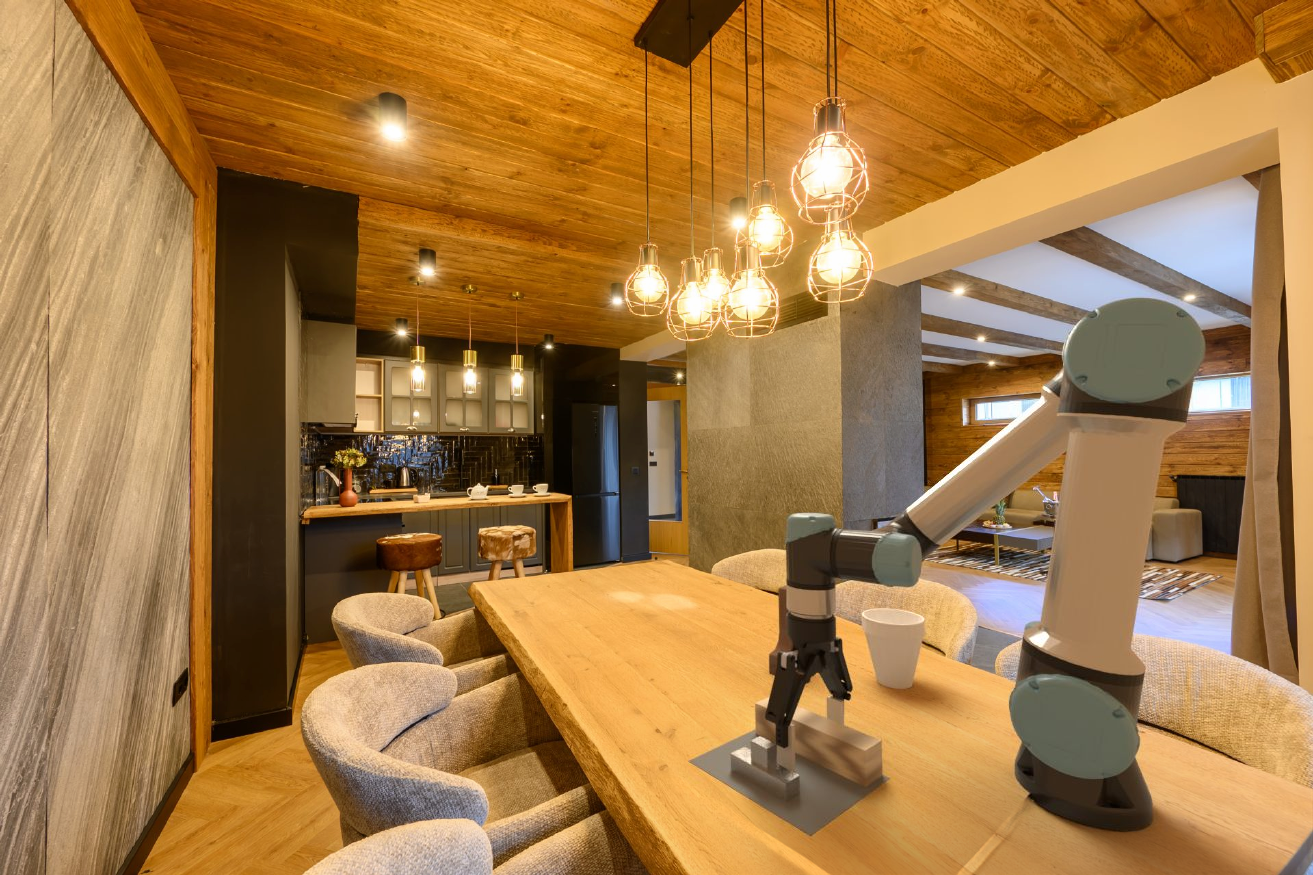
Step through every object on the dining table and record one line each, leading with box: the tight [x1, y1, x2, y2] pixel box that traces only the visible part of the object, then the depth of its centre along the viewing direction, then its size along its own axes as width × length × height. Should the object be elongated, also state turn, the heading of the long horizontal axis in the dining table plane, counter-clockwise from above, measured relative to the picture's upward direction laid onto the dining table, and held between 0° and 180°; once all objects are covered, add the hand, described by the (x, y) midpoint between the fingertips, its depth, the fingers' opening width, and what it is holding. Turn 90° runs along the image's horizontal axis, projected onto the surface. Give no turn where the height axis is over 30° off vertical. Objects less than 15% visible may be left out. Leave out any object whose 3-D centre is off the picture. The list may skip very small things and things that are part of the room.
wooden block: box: [768, 584, 800, 677], centre depth 123 cm, size 9×4×18 cm, turn 138°
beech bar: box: [754, 696, 884, 787], centre depth 87 cm, size 20×4×5 cm, turn 39°
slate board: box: [688, 728, 891, 837], centre depth 82 cm, size 22×19×1 cm
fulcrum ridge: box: [731, 736, 800, 802], centre depth 79 cm, size 10×3×6 cm, turn 39°
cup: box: [861, 607, 927, 690], centre depth 116 cm, size 12×12×14 cm
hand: (811, 752), depth 86 cm, fingers open, 12 cm apart
